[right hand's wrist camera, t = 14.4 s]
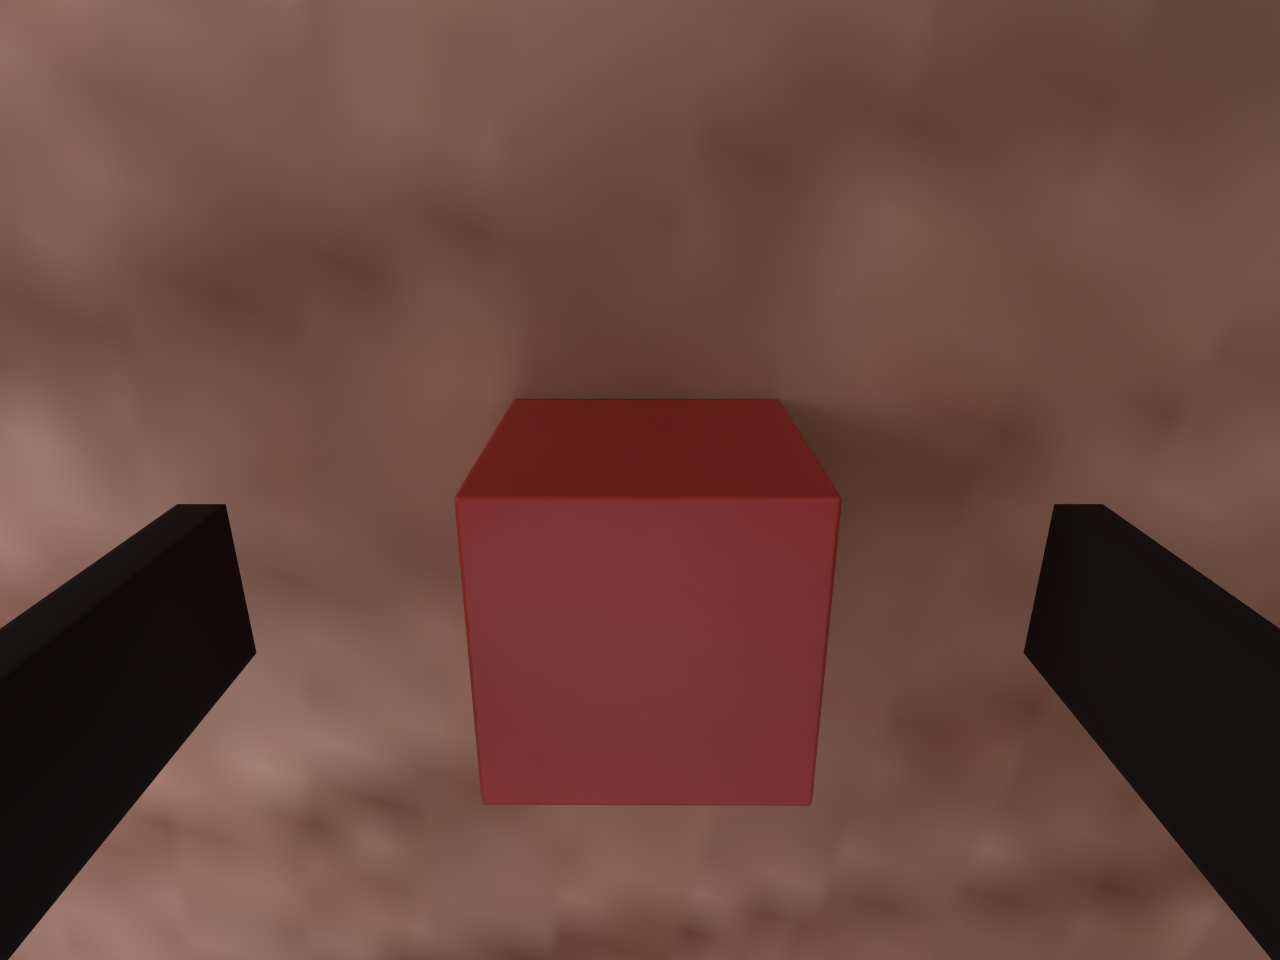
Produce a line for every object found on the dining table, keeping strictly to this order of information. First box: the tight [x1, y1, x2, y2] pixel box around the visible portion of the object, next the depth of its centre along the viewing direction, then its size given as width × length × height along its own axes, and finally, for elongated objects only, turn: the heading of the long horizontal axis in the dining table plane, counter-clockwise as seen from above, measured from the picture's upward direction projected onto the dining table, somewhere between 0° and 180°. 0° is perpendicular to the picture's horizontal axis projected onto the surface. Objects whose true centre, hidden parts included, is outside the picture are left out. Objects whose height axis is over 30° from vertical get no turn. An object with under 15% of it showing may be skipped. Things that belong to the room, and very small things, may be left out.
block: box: [454, 400, 841, 806], centre depth 13 cm, size 5×5×5 cm
